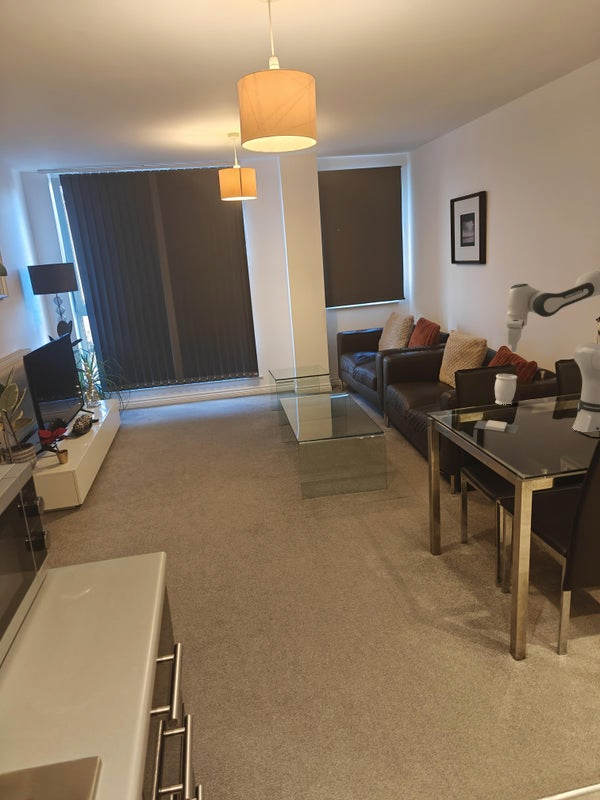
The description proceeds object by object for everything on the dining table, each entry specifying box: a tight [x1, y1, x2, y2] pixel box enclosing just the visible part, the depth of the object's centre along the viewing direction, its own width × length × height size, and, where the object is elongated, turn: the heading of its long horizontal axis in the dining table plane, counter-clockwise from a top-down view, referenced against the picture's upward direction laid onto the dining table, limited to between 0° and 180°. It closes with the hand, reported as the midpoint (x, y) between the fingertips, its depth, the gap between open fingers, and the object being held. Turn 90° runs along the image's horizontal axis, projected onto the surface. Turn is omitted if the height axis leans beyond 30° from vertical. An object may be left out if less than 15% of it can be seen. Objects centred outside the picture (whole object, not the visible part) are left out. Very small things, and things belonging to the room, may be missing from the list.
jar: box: [494, 373, 518, 406], centre depth 278 cm, size 11×10×15 cm
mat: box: [473, 419, 519, 435], centre depth 243 cm, size 18×12×1 cm, turn 63°
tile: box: [484, 419, 508, 433], centre depth 242 cm, size 8×2×9 cm
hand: (513, 351), depth 242 cm, fingers closed
